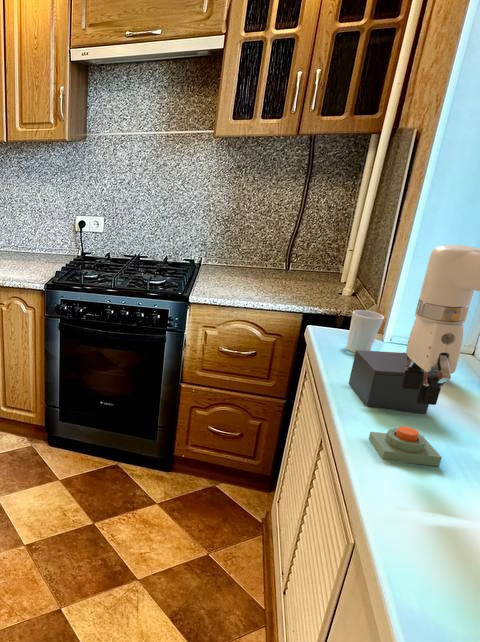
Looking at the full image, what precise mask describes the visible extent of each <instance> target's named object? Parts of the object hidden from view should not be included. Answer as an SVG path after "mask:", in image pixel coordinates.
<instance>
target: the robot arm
mask: <svg viewBox="0 0 480 642" xmlns="http://www.w3.org/2000/svg"><path fill="white" fill-rule="evenodd" d="M475 291H476V292H479V293H480V248H478V247H474V246H470V245H461V244H442V245H438V246H435V247H434V248H433V249H432V251H431V252H430V255H429V259H428V263H427V266H426V270H425V274H424V277H423V281H422V285H421V289H420V294H419V298H418V302H417V305H416V308H415V313H414V316H415V319H414V321H413V325H412V328H411V330H410V333H409V337H408V341H407V345H406V351H405V353H406V354H407V360H408V362H407V364H406V366H405V368H406V369H408V370H405V374H404V378H403V382H402V385H401V386H402V388H404V389H416V390H419V392H418V395H417V399H416V402H417V403H419V404H429V405H430V406H431V405H432V406H435V405H437V402H438V399H439V396H440V393H441V390H442V388H443V387H444V385H445V383H446V382H448V381H449V380H451V378H452V375H451V374H454V373H455V372H456V370H457V367H458V363H459V359H460V356H461V355H460V354H461V350H462V349H461V348H462V344H463V339H464V326H465V325H464V324H465V322H466V320H467V316H468V313H469V309H470V305H471V302H472V298H473V296H474V292H475ZM431 367H435V368H438V370H439V371H437V370H431ZM422 370H424V371H422ZM430 373H434V374H437V376H436V377H435V376H434V377H432V378H431V379H430ZM423 377H424V382H423V384H422V381H423Z"/></svg>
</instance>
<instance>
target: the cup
mask: <svg viewBox="0 0 480 642" xmlns="http://www.w3.org/2000/svg"><path fill="white" fill-rule="evenodd" d="M384 319H385V316H384V315H383V314H381V313H379V312H375V311H372V310H367V309H355V310H353V311H352V314H351V319H350V326H349V331H348V335H347V340H346V345H345V348H346V350H348V351H350V352H353V353H355V352H356V350H361V351H372V350H371V349H372V347H373V344H374V342H375V340H376V338H377V335H378V333H379V330H380V327H381V326H382V323H383V321H384Z"/></svg>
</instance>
